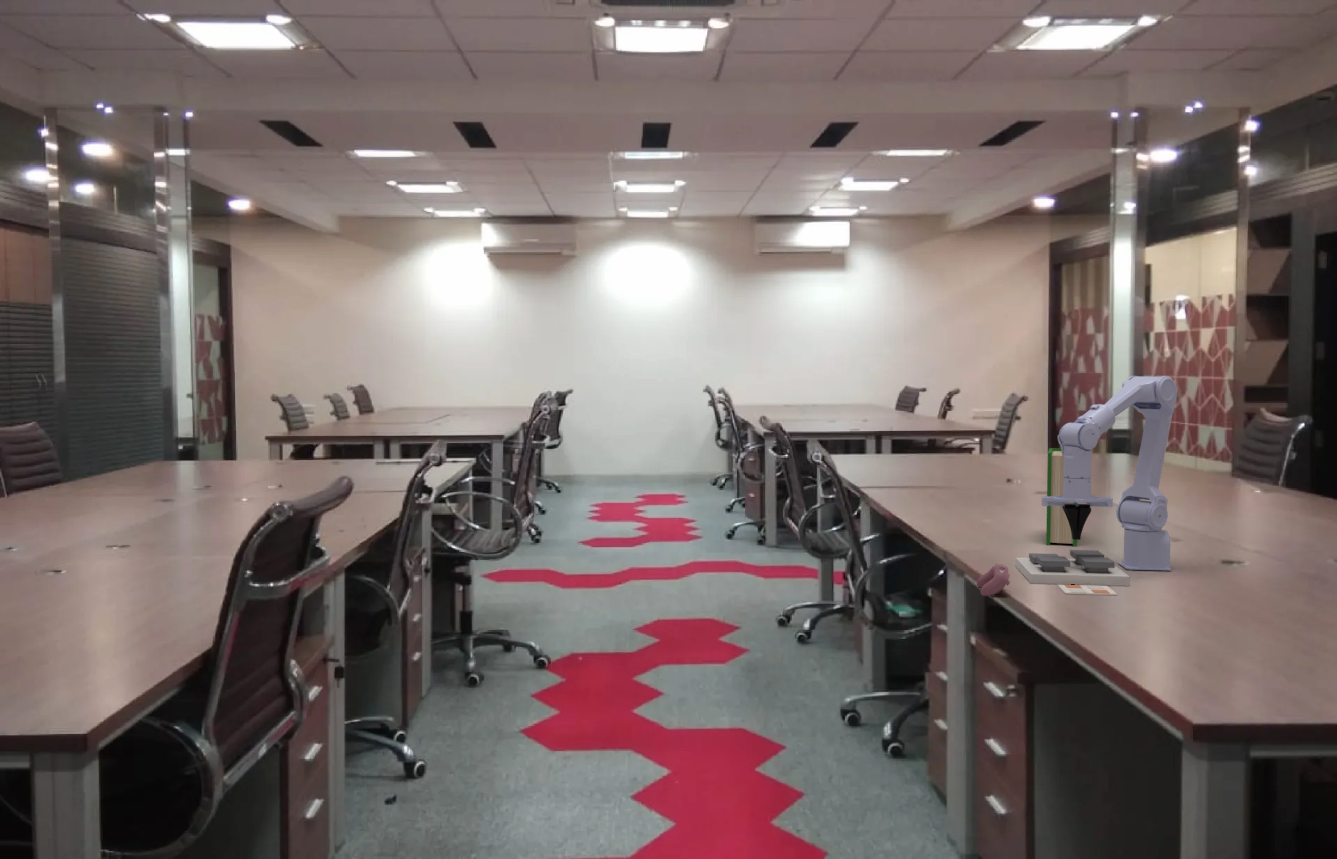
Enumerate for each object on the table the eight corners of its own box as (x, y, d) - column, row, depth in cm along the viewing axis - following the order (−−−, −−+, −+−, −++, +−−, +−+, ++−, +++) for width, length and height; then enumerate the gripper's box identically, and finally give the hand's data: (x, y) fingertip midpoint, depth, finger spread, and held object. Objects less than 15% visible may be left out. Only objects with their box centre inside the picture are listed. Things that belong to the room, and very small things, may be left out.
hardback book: (1076, 546, 272) (1078, 453, 271) (1046, 545, 275) (1047, 453, 273) (1076, 536, 289) (1078, 448, 287) (1047, 535, 291) (1049, 448, 290)
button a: (1097, 563, 241) (1097, 550, 241) (1103, 568, 235) (1104, 555, 235) (1069, 563, 242) (1070, 549, 242) (1075, 568, 236) (1075, 554, 236)
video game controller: (999, 605, 213) (1016, 575, 212) (978, 594, 214) (995, 564, 213) (994, 594, 223) (1010, 565, 222) (974, 584, 223) (990, 555, 222)
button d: (1064, 570, 233) (1064, 556, 233) (1070, 575, 227) (1070, 561, 227) (1036, 569, 234) (1036, 555, 234) (1041, 574, 228) (1041, 560, 228)
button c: (1107, 571, 232) (1107, 557, 232) (1114, 576, 226) (1114, 562, 226) (1078, 570, 233) (1078, 556, 233) (1084, 576, 227) (1085, 561, 227)
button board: (1106, 568, 243) (1106, 559, 243) (1129, 586, 223) (1129, 576, 223) (1015, 566, 246) (1015, 557, 246) (1031, 583, 226) (1031, 574, 226)
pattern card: (1107, 587, 222) (1107, 585, 222) (1117, 595, 214) (1117, 593, 214) (1057, 586, 224) (1057, 584, 224) (1065, 594, 216) (1065, 592, 216)
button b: (1056, 567, 242) (1056, 553, 242) (1061, 572, 236) (1061, 558, 236) (1028, 566, 243) (1029, 553, 243) (1033, 571, 237) (1033, 557, 237)
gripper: (1045, 479, 230) (1044, 541, 230) (1116, 479, 227) (1115, 542, 228) (1040, 475, 236) (1039, 535, 237) (1108, 476, 234) (1107, 537, 235)
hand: (1076, 538), depth 233 cm, fingers closed
